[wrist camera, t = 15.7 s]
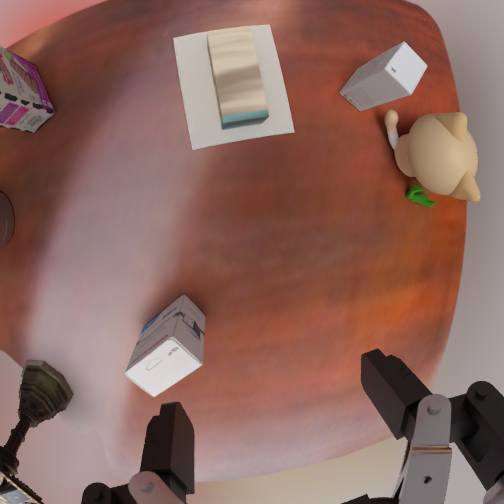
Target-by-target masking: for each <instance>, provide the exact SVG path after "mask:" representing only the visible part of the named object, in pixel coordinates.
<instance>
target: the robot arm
mask: <svg viewBox="0 0 504 504" xmlns="http://www.w3.org/2000/svg"><path fill="white" fill-rule="evenodd" d="M13 230H14V215H13V210H12V207H11V204H10V202H9V200H8V198H7V197H6V196H5V195H4V194H3V193H1V192H0V248H2V247H4V246H6V245H7V244H8V243H9V241H10V239H11V237H12V234H13ZM361 383H362V386H363V389H364V391H365V392H366V394H367V395H368V397H369V398H370V400H371V401H372V403H373V404H374V406H375V407H376V409H377V410H378V412H379V413H380V415H381V416H382V418H383V419H384V421H385V422H386V424H387V425H388V427H389V428H390V430H391V432H392V433H393V435H394V436H395V438H396V439H397V440H398V439H400V438H402V437H404V436H405V437H406V438H407V440H408V442H407V446H406V450H405V455H404V459H403V463H402V467H401V471H400V475H399V478H398V481H397V484H396V487H395V490H394V493H393V496H392V498H388V497H379V498H371V499H369V497H368V495H367V494H366V495H363V496H361V497H358V498H356V499H353V500H350V501H348V502H345V503H342V504H444V501H445V496H446V490H447V485H448V479H449V473H450V465H451V457H452V449H451V448H449V443H452V442H455V443H456V445H457V446H458V448H459V449H460V451H461V452H462V454H463V455H464V457H465V458H466V460H467V461H468V463H469V464H470V466H471V467H472V469H473V470H474V472H475V473H476V475H477V477H478V478H479V480H480V481H481V483H482V485H483V486H484V488H485V489H486V491H487V492H486V494H485V497H484V500H483V504H504V397H503V396H502V394H500V392H499V391H498V390H497V389H496V388H495V387H494V386H493V385H492V384H490V383H488V382H486V381H478V382H475V383H473V384H472V385H471V386H470V387H469V388H468V391H467V393H466V394H463V395H459V396H456V397H453V398H446V397H445V396H442V395H439V394H432V393H431V392H430V391H429V390H428V389H427V387H426V386H425V385H424V384H423V383H422V382H421V381H420V380H419V379H418V377H417V376H416V375H415V374H414V373H412V371H411V370H410V369H409V368H407V366H406V364H405V363H404V362H403V361H402V360H401V359H399V358H397V357H395V356H393V355H389V356H387V357H386V356H385V355H384V354H383V353H382V352H381V351H380V350H379V349H375V350H372V351H370V352H367V353H364V354H362V356H361ZM186 494H194V429H193V425H192V423H191V421H190V419H189V418H188V416H187V414H186V412H185V410H184V409H183V407H182V405H181V403H180V402H172V403H164V404H162V405H161V409H160V415H159V416H153V418H152V419H151V421H150V422H149V424H148V426H147V431H146V437H145V444H144V449H143V455H142V461H141V467H140V472H139V473H137V474H135V475H134V476H133V477H132V478H131V479H130V481H129V483H128V484H125V485H121V486H117V487H113V488H109V487H108V486H107V485H105V484H103V483H92V484H90V485H89V486H87V487H86V489H85V490H84V492H83V496H82V502H81V504H187V503H186Z"/></svg>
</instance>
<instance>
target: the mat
mask: <svg viewBox="0 0 504 504" xmlns="http://www.w3.org/2000/svg"><path fill="white" fill-rule="evenodd" d="M245 27H246V26H245ZM235 28H236V27H235ZM250 28H251V32H252V37H253V41H254V45H255V50H256V54H257V59H258V64H259V68H260V73H261V78H262V82H263V87H264V92H265V97H266V102H267V107H268V112H269V117H268V118H267V119H266V120H265V121H264V122H263V123H262V124H257V125H250V126H244V127H237V128H231V129H226V130H222V127H221V121H220V116H219V110H218V105H217V99H216V94H215V88H214V83H213V77H212V72H211V66H210V60H209V55H208V49H207V32H201V33H195V34H190V35H185V36H181V37H176V38H173V40H174V47H175V53H176V60H177V66H178V72H179V78H180V84H181V90H182V96H183V102H184V107H185V113H186V118H187V124H188V129H189V134H190V140H191V145H192V150H196V149H201V148H205V147H210V146H215V145H220V144H225V143H230V142H235V141H241V140H247V139H253V138H259V137H265V136H272V135H279V134H287V133H294V127H293V122H292V117H291V112H290V108H289V103H288V98H287V94H286V89H285V85H284V80H283V76H282V72H281V68H280V63H279V59H278V55H277V51H276V47H275V43H274V40H273V36H272V32H271V28H270V25H256V26H250Z"/></svg>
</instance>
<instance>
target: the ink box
mask: <svg viewBox="0 0 504 504" xmlns="http://www.w3.org/2000/svg"><path fill="white" fill-rule="evenodd" d="M204 332H205V316H204V314H203V313H202V312H201V311H200V309H199V308H198V307H197V306H196V305H195V304H194V303H193V302H192V301H191V300H190V299H189V298H188V297H187V296H186V295H182V296H180V297H179V298H178V299H177V300H176V301H174V302H173V303H172V304H171V305H170V306H168V307H167V308H166V309H165V310H163V311H162V312H161V313H160V314H159V315H157V316H156V317H155V318H154V319H152V320H151V321H150V322H149V323H148V324H146V325H145V326H144V328H143V330H142V332H141V335H140V337H139V339H138V342H137V344H136V347H135V349H134V352H133V354H132V357H131V359H130V362H129V364H128V367H127V369H126V371H125V376H126V377H128V378H129V379H130V380H131V381H132V382H134V383H135V384H136V385H138V386H139V387H140V388H141V389H143V390H144V391H145V392H147V393H148V394H149V395H151V396H153V397H155V396H157V395H158V394H159V393H161V392H163V391H164V390H166V389H167V388H169V387H170V386H172V385H173V384H175V383H176V382H178V381H179V380H181V379H182V378H184V377H185V376H187V375H188V374H190V373H191V372H193V371H194V370H196V369H197V368H199V367H200V366H202V365H203V349H204Z"/></svg>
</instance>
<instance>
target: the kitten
mask: <svg viewBox="0 0 504 504" xmlns="http://www.w3.org/2000/svg"><path fill="white" fill-rule="evenodd" d="M384 121H385V125H386V128H387V133H388V138H389V142H390V144H391V146H392V148H393V150H394V154H395V160H396V163H397V165H398V167H399V169H400V170H401V171H402V172H403V173H404V174H405V175H407V176H409V177H416V179H417V180H418V181H419V183H420V184H421V185H422V186H424V187H425V188H426V189H428V190H429V191H431V192H433V193H436V194H441V195H450V196H451V197H453V198H455V199H463V200H468V201H471V202H477V201H479V200H480V197H481V196H480V191H479V189H478V187H477V184H476V181H475V179H474V176H475V174H476V171H477V165H478V154H477V149H476V145H475V142H474V140H473V138H472V136H471V134H470V133H469V132H468V130H467V129H466V128H467V117H466V115H465V114H463V113H461V112H453V113H440V114H426V115H423V116H421V117H420V118H418V119H417V120H416V121H415V123H414V124H413V126H412V127H411V129H410V132H409V134H406V135H402V136H400V137H398V133H397V129H396V124H397V122H398V114H397V113H396V112H395V111H394V110H388V111H387V112H386V114H385V119H384ZM426 189H424V188H422V187H420V186H412V188H411V190H410V189H409V191H408V193H407V195H405V196H406V197H407V198H408V199H410V200H411V199H412V202H417V203H420V204H422V205H424V206H425V207H431V206H434V205H435V204H436V202H432V201H431V200H430V199H429V198H428V197H427V196H426V195H425V194H424V193H420V192H419V191H426ZM415 192H419V193H416V194H414V193H415Z"/></svg>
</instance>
